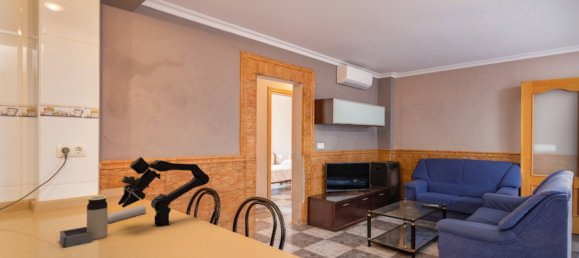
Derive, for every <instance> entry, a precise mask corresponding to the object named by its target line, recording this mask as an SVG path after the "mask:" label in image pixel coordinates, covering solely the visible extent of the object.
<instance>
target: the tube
mask: <svg viewBox="0 0 579 258" xmlns="http://www.w3.org/2000/svg"><path fill="white" fill-rule="evenodd" d="M146 213H147V207H146V206H145V205H143V204H141V205H139V206H134V207H131V208H126V209H122V210H119V211H115V212H111V213H110V212H109V213H107V225H109V224H112V223H116V222H119V221H123V220H128V219H131V218H133V217H139V216H141V215H145V214H146Z"/></svg>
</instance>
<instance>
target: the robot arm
mask: <svg viewBox="0 0 579 258" xmlns="http://www.w3.org/2000/svg"><path fill="white" fill-rule="evenodd" d="M144 159H145V158H143V157H142V156H139V157H138V158H137V159H135V160H133V162H131V163H130V165H129V168H131V170H133V171H134V172H135V173H136V174H138V175H140V174H141V175H140V177H136V178H135V177H134V176H132V175H130V176H126V175H124V176H123V178H122V180H121V183H123V184H124V186H123V194H122V196H121V198H120V199H119V201H118V202H117V204H118V205H119V206H121V207H122V208H126V207H128V206H130V205H132V204H134V203H137V202H139V201H144V199H145V198H146V195H147V194H146V193H144V190H146V189H147V188H149V187H150V185H151V184H152V183H153V181H154V180H156V179H158V180H161V178H162V177H161V173H158V172H162V173H163V172H168V171H184V172H185V171H188V172H189V171H190V172H191V174H192V176H193V177H192V179H191V180H190V181H188V182H186V183H185V184H183V185H181V186H179V187H178V188H176V189H174V190H173V191H171V192H169V193H167V194H164V193H160V194H159V195H157V196H154V197H153V198H154V199H152V200H151V203H150V206H151V208H152V209H153V210H154V212H155V215H154V225H155V227H162V226H169V225H170V213H171V210H172V208H171V207H170V205H171V204H172V202H173V201H175V200H177V199H178V198H180V197H182V196H184V195H185V194H187V193H189V192H190V191H192V190H194V189H195V188H198V187H202V186H205V185H207V184H208V183H209V182H210V176H209V175H208V174H207V173H205V171H204V170H202V168H200V167H199V165H198V164H196V163H179V162H178V163H177V162H169V161H165V160H163V159H162V160H160V159H156V160H154V161H153V162H149V163H148V162H147V161H146V160H144ZM151 169H152V170H151Z"/></svg>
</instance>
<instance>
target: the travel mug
mask: <svg viewBox="0 0 579 258" xmlns="http://www.w3.org/2000/svg"><path fill="white" fill-rule="evenodd" d="M87 201H88V204H87V205H86V227H87V233H90V232H92V241H94V240H100V239H104V238H105V237H107V236H108V224H107V214H108V202H107V196H106V195H95V196H90V197H88V198H87ZM103 237H104V238H103Z"/></svg>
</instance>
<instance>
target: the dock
mask: <svg viewBox="0 0 579 258" xmlns="http://www.w3.org/2000/svg"><path fill="white" fill-rule="evenodd" d="M59 242H60V244H61V247H62V249H65V248H68V247H75V246H79V245H84V244H90V243H93V240H92V232H90V233H87V226H83V227H77V228H71V229H66V230H65V229H64V230H60V231H59Z"/></svg>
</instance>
